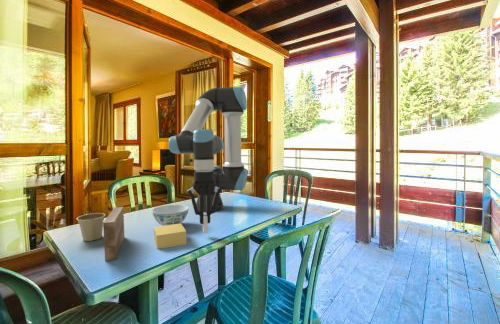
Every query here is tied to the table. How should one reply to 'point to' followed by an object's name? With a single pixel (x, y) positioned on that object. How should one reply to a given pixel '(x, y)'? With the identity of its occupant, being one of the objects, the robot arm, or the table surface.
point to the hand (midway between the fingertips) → (205, 231)
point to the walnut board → (113, 233)
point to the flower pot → (91, 226)
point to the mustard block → (169, 235)
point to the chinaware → (170, 214)
